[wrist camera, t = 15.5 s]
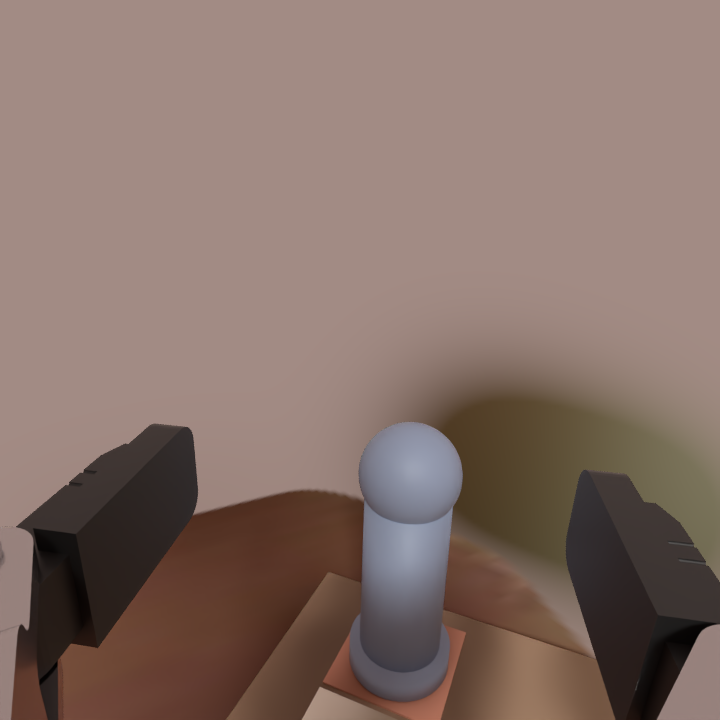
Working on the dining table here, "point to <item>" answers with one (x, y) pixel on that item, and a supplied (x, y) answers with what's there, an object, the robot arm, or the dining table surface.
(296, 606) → the dining table surface
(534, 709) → the game board
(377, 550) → the pawn
